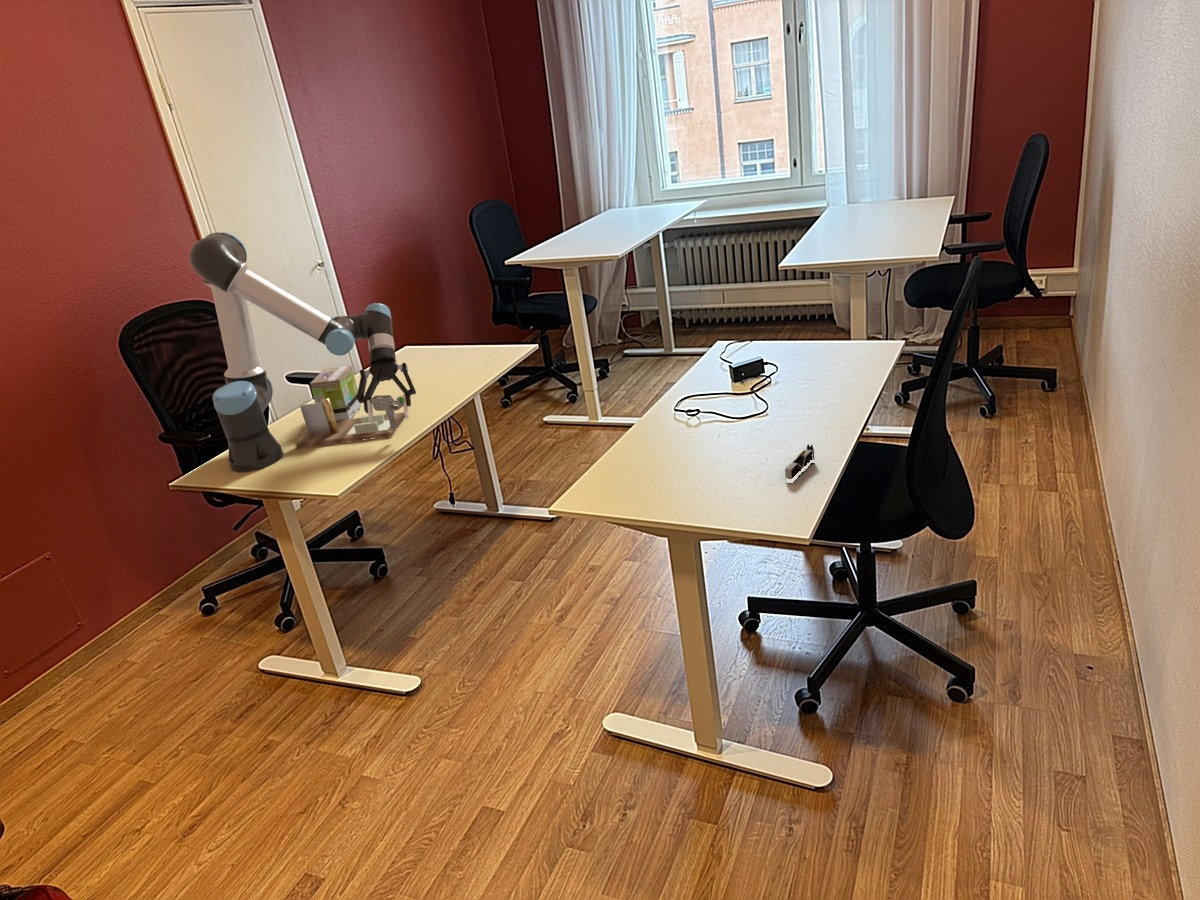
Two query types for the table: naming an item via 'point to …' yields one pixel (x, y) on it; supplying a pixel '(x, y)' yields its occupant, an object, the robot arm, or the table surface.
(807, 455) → the graphics card
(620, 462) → the table surface
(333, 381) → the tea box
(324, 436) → the board
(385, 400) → the mechanical component
